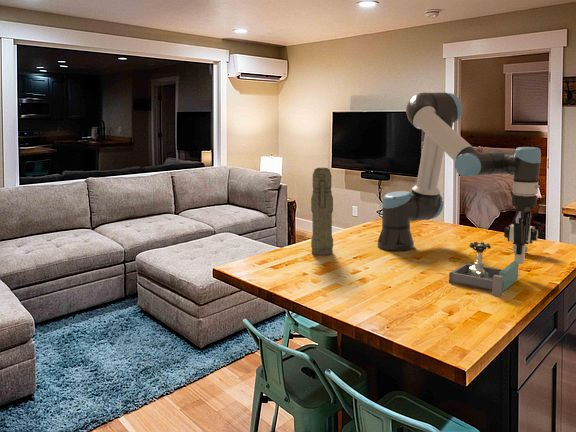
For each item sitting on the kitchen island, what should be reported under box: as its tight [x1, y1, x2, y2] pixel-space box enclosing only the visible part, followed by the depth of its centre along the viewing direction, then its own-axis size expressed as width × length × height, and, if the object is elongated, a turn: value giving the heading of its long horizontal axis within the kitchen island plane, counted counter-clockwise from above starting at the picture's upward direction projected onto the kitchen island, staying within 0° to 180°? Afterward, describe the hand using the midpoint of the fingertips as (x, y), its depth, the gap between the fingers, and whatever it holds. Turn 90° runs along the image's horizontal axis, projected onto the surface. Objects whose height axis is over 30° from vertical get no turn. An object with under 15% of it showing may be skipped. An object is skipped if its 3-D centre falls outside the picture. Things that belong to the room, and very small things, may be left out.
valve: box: [469, 241, 492, 279], centre depth 161 cm, size 7×7×12 cm
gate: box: [499, 260, 520, 292], centre depth 157 cm, size 2×15×6 cm, turn 140°
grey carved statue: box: [310, 167, 334, 257], centre depth 197 cm, size 9×12×35 cm
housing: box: [448, 262, 503, 297], centre depth 159 cm, size 17×17×6 cm
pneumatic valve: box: [503, 223, 539, 253], centre depth 196 cm, size 6×12×12 cm, turn 55°
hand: (519, 262), depth 165 cm, fingers closed
